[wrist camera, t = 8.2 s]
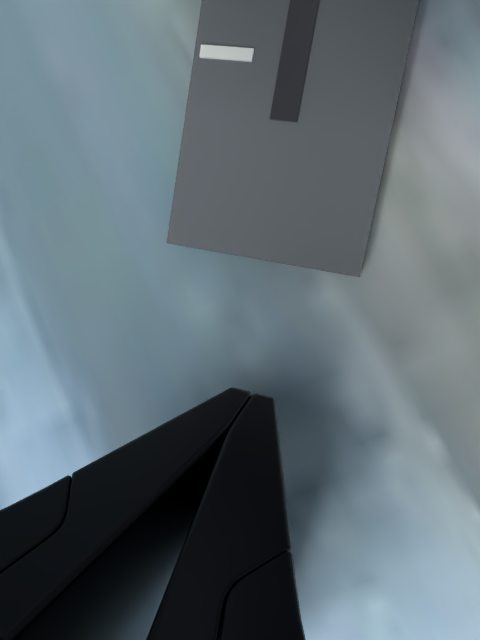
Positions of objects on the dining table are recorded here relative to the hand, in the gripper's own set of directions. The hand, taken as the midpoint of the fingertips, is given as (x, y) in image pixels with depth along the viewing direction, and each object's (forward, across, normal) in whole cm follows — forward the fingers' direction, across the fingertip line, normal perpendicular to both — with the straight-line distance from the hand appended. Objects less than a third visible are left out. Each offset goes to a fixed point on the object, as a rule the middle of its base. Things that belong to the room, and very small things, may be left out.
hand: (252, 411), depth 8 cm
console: (+16, +3, -8) cm, 19 cm away
